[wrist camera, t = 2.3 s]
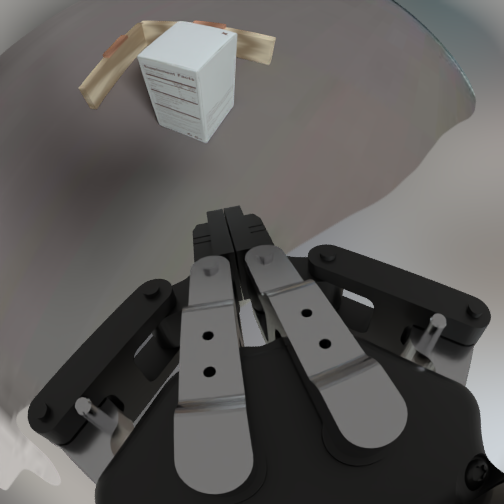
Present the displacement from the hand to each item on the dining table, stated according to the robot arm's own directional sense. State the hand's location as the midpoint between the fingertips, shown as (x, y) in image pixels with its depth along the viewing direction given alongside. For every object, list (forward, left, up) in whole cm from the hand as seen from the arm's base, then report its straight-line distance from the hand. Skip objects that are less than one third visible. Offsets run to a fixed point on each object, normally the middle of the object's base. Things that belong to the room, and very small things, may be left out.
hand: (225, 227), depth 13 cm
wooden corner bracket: (-16, +24, -17) cm, 33 cm away
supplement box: (-10, +18, -17) cm, 27 cm away
